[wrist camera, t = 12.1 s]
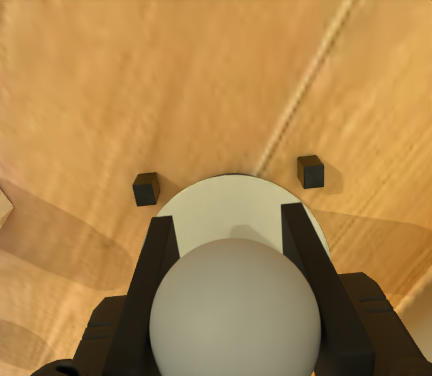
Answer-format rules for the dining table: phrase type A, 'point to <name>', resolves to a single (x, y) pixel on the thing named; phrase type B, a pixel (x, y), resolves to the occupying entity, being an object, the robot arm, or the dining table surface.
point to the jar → (4, 208)
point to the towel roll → (234, 286)
